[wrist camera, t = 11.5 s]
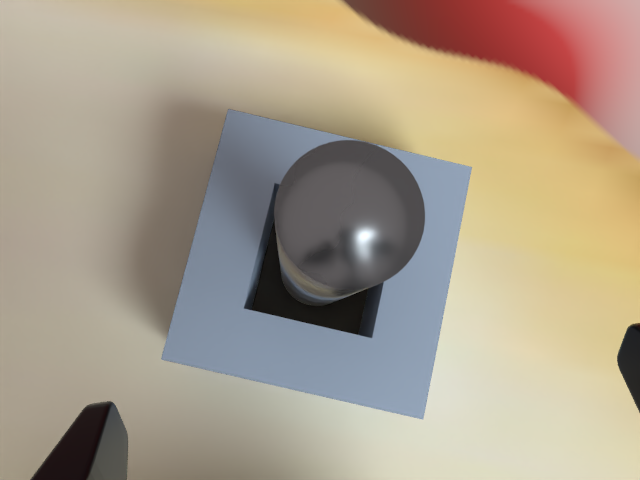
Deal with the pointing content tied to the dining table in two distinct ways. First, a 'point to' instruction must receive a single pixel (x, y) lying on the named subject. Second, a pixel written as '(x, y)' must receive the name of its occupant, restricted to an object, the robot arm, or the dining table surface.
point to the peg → (345, 221)
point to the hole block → (294, 336)
